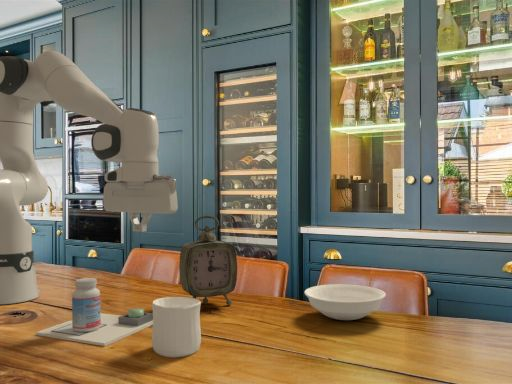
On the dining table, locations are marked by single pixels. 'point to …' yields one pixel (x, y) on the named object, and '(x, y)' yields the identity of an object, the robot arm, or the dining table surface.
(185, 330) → the cup
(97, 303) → the pill bottle
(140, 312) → the button
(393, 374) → the dining table surface
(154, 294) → the dining table surface
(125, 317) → the button housing
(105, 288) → the dining table surface
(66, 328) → the paper board
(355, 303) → the bowl
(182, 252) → the tabletop clock
